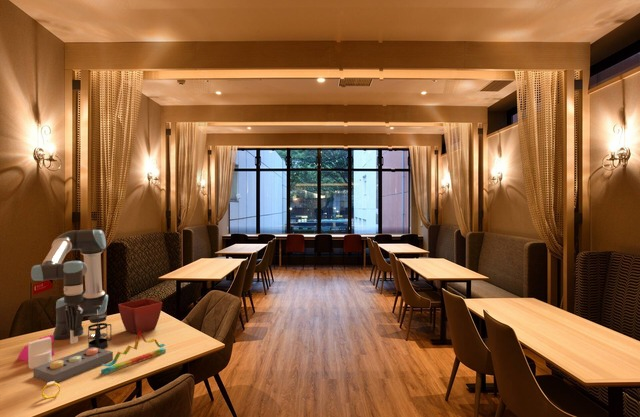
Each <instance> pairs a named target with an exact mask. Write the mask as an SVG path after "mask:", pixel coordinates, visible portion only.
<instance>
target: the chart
mask: <svg viewBox="0 0 640 417" xmlns="http://www.w3.org/2000/svg"><path fill="white" fill-rule="evenodd" d="M140 338H142V340H143V342H144V343H153V342H155V344H156V346H157V348H158V347H159V349H156V350H153V351H150V352H147V353H145V354H142V355H139V356H136V357H133V358H130V359H128V360H125V361H122V362H120V363H117V361H118V360H119V357H120V356H121V354H122V355H125V356H126V355H127V354H128V353H129V351H130V350H131V349H134V350H136V351H137V350H138V346H139V342H140ZM164 346H166V344H165V343H161V344H159V342H158V340H157V339H156V338H151V339H149V340H146V337H145V336H144V333H143V332H141V331H138V334H136V340H135V343H134V346H131V345H128V346H127V347H126V349H125V350H124V351H123V352H122V351H117V353H116V354H115V356H114V357H113V360H112V361H110V362H108V363H107V364H106V363H104V364H101V365H100V366H103V367H105V368H102V369H101V370H100V373H101V375H104V376H105V375H108V374H111V373H113V372H116V371H119V370H121V369H125V368H127V367H130V366H133V365H136V364H139V363H140V362H144V361H146V360H148V359H149V360H150V359H152V358H154V357H157V356H160V355H162V354H166V353H167V351H166V350H167V349H166V348H164Z"/></svg>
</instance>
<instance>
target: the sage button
mask: <svg viewBox="0 0 640 417" xmlns="http://www.w3.org/2000/svg"><path fill="white" fill-rule="evenodd" d="M80 360H81V356H74V357H71V358H69V362H70V363H74V362H77V361H80Z"/></svg>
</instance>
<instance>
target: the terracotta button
mask: <svg viewBox="0 0 640 417" xmlns="http://www.w3.org/2000/svg"><path fill="white" fill-rule="evenodd" d="M87 349H88V348H87ZM85 350H86V349H85ZM95 354H98V348H90V349H88V350H86V356H89V357H90V356H93V355H95Z"/></svg>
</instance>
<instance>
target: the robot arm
mask: <svg viewBox="0 0 640 417" xmlns="http://www.w3.org/2000/svg"><path fill="white" fill-rule="evenodd" d="M106 239H107V238H106V235H105V231H103V230H102V229H79V230H78V229H76V230H75V229H73V230H69V231H66V232H63V233H62V234H60V235H59V236H57V237H56V238H55V239H53V242H52V243H51V248H50V250H49V252H48V253H47V255H46V257H45V259H43V261H42V263H41V264H36V265H33V266H32V267H31V271H30V276H31V279H32V281H37V282H38V281H41V282H44V281H51V280H52V281H53V280H63V289H62V290H63V294H64V295H63V297H61V298H59V299H57V300H56V303H55V304H56V305H55V312H56V314H55V316H56V317H55V318H56V320H55V321H56V324H55V326H54V330H53V332H52V335H54V340H68V339H69V340H70V342H69V344H72V345H74V344H76V343H78V342H79V336H81V335H82V334H84V327H83V318H84V317H88V316H89V317H91V316H94V315H97V308H93V307H94V306H97V305H102V306H101V307H99V309H98V315H102V314H104V315H105V313H106V311H107V306H108V302H109V294H106V291H104V290H103V281H102V259H101V258H102V257H101V254H102V253H103V252H104V250H105V249H106V247H107V240H106ZM70 251H80V254H81V255H83V261H81V260H71V261H66V262H63V261H64V259H65V257H66V256H67V254H68V253H69V252H70ZM83 277H84V279H83ZM83 280H84V282H85V283H84V282H83ZM84 284H85V286H84ZM84 287H85V292H84ZM83 292H84V293H83Z"/></svg>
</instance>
